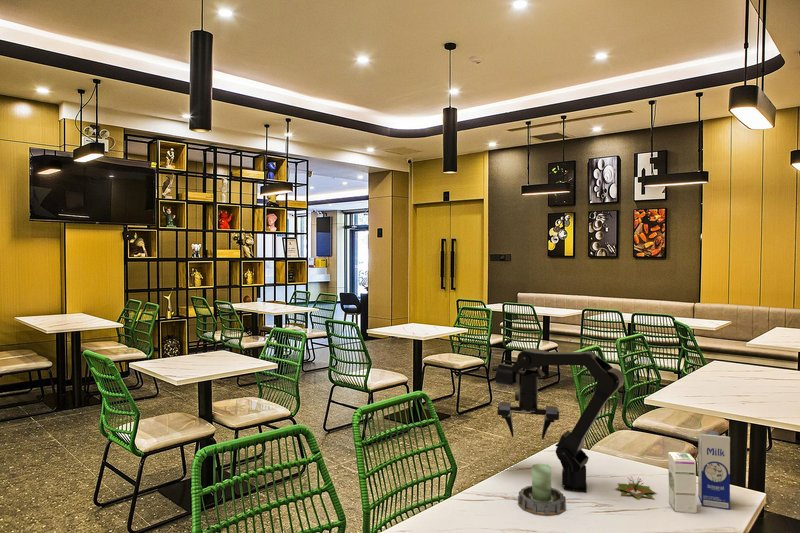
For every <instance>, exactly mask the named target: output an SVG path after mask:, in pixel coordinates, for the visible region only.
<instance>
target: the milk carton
mask: <svg viewBox="0 0 800 533" xmlns="http://www.w3.org/2000/svg"><path fill="white" fill-rule="evenodd" d="M697 437H698V438H697V439H698V440H697V442H698V443H697V446H698V448H697V449H698V452H697V456H698V458H697V462H698V463H697V464H698V466H697V467H698V469H697V471H698V474H697V478H698V483H697V484H698V486H697V487H698V490H697V491H698V494H697V497H698V499H699V501H700V503H701V506H702V507H707V508H715V509H723V510H731V437H730V436H724V435H719V431H714V430H706V434H704V433H697Z"/></svg>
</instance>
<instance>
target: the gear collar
mask: <svg viewBox="0 0 800 533" xmlns="http://www.w3.org/2000/svg"><path fill="white" fill-rule="evenodd" d="M530 495H532V485H526V486H525V487H523V488H521V489H520V490H519V491H518V496H517V504H518V507H520V508H521V509H522V510H524V511H525V512H527V513H531V514H534V515H536V516H545V517H547V516H557V515H560V514H563V513H564V512H565V510H566V508H567V507H566V506H567V502H566V501H567V500H566V496H564V493H562V492H561V491H560V490H559V489H557V488H554V487H551V495H552V496H553V499H554V502H538V501H534V500H531V499H529V496H530Z"/></svg>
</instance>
